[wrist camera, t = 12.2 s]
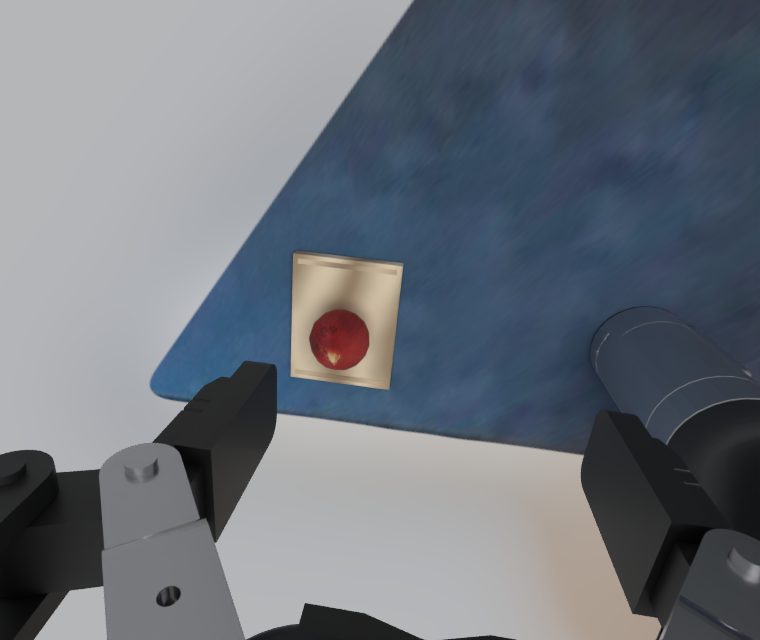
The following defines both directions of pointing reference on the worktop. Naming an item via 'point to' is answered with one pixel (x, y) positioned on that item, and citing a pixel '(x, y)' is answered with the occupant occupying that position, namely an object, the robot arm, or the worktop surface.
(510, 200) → the worktop surface
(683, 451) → the robot arm
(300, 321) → the board
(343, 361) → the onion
